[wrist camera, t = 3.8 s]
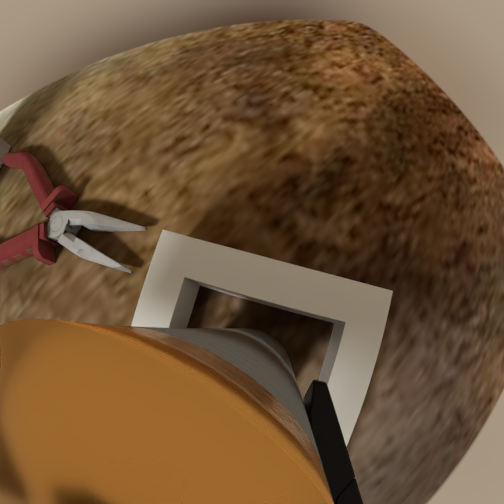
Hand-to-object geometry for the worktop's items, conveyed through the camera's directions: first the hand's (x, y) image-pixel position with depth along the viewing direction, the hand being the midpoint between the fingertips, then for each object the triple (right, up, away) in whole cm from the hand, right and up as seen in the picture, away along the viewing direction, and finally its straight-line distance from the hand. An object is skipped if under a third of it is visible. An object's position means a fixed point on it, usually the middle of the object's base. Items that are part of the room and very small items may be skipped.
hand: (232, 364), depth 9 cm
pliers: (-17, +5, +11) cm, 21 cm away
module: (0, -3, +7) cm, 8 cm away
